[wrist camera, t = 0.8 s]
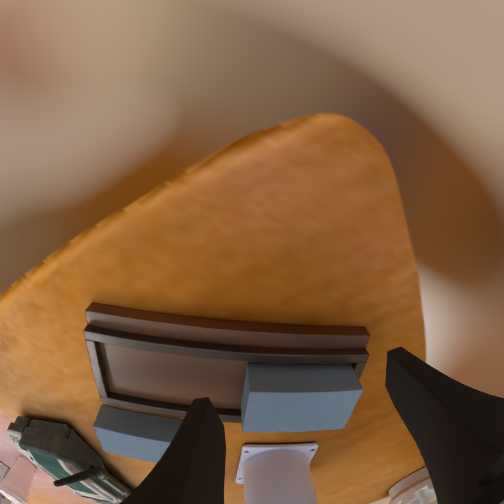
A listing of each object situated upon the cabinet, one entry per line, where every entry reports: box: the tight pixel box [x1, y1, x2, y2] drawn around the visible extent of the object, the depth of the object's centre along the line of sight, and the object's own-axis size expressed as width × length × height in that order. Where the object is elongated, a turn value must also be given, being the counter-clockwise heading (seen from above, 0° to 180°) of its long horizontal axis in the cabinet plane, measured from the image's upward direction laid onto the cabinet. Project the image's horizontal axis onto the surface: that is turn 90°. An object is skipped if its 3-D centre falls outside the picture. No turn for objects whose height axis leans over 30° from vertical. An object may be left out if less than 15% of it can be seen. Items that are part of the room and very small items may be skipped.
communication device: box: [7, 416, 133, 504], centre depth 23 cm, size 12×24×9 cm, turn 11°
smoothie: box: [0, 456, 36, 504], centre depth 23 cm, size 6×6×14 cm
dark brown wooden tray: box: [84, 303, 370, 423], centre depth 21 cm, size 10×21×2 cm, turn 83°
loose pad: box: [93, 405, 182, 463], centre depth 22 cm, size 5×8×3 cm, turn 83°
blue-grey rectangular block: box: [241, 363, 363, 432], centre depth 20 cm, size 5×8×3 cm, turn 83°
